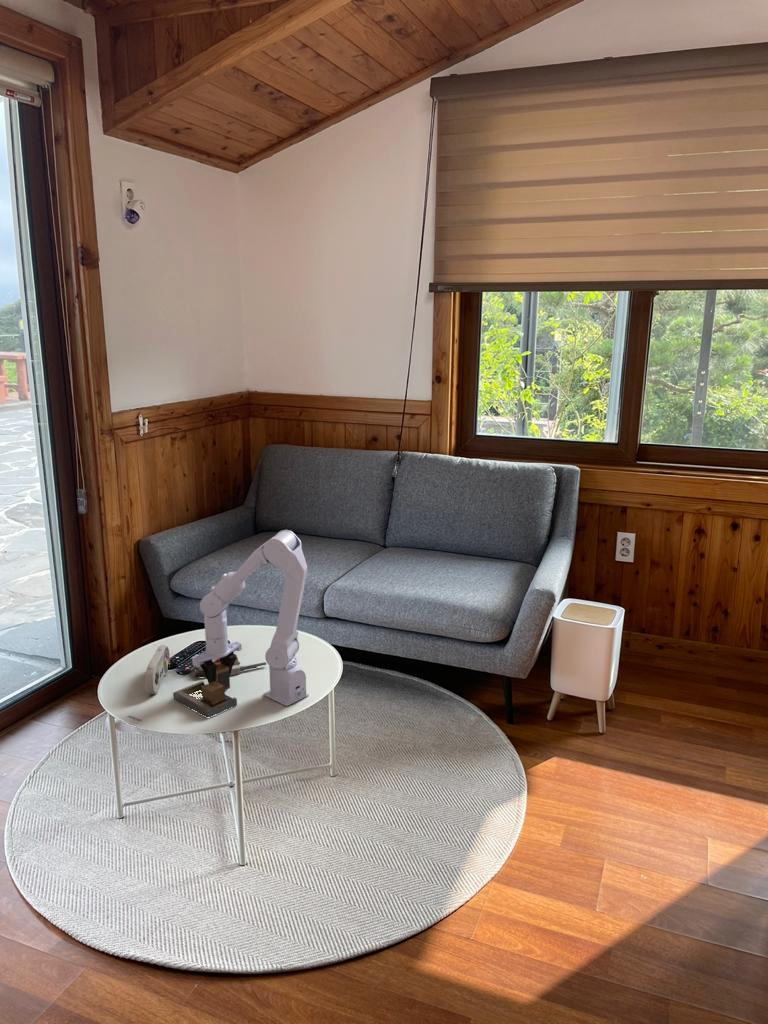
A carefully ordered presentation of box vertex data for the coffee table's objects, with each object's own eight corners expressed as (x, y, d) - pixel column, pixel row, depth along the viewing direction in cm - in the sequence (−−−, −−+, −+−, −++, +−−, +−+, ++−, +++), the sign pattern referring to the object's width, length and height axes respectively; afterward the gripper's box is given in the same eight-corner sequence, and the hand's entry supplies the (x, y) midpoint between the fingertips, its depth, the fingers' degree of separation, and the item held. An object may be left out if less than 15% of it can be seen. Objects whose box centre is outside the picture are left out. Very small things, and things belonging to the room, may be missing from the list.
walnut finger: (231, 688, 208) (230, 667, 206) (219, 693, 205) (218, 672, 203) (220, 683, 210) (219, 662, 209) (208, 688, 208) (207, 667, 206)
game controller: (155, 699, 202) (152, 670, 200) (146, 699, 201) (143, 670, 199) (171, 667, 220) (169, 640, 218) (163, 667, 220) (161, 640, 218)
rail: (237, 705, 198) (236, 684, 197) (208, 718, 192) (206, 696, 190) (202, 687, 208) (201, 667, 206) (173, 699, 201) (172, 678, 200)
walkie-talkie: (197, 683, 211) (267, 669, 220) (196, 669, 210) (267, 655, 218) (190, 671, 218) (258, 657, 227) (189, 656, 217) (257, 643, 226)
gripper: (229, 623, 212) (231, 669, 215) (184, 639, 201) (187, 687, 205) (245, 630, 207) (247, 676, 211) (200, 646, 197) (203, 695, 200)
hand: (219, 682), depth 207 cm, fingers closed on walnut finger, 4 cm apart
